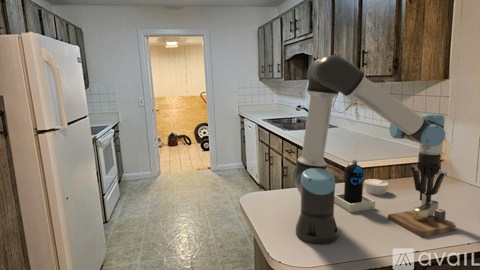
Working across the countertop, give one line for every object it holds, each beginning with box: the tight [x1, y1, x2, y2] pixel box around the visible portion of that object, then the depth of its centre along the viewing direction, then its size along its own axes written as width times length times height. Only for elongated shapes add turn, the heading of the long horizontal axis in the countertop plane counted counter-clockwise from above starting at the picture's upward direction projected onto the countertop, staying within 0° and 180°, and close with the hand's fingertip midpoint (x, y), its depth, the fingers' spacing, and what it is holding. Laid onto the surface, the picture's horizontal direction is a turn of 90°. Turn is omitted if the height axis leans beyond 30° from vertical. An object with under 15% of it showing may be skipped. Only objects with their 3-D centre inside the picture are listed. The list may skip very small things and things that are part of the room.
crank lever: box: [413, 199, 439, 222], centre depth 122 cm, size 16×5×4 cm, turn 128°
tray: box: [334, 192, 376, 214], centre depth 139 cm, size 13×13×4 cm
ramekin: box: [363, 178, 390, 196], centre depth 156 cm, size 11×11×5 cm
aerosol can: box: [343, 159, 365, 204], centre depth 138 cm, size 8×8×20 cm
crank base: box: [387, 208, 457, 238], centre depth 119 cm, size 16×16×6 cm
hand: (424, 208), depth 126 cm, fingers closed
